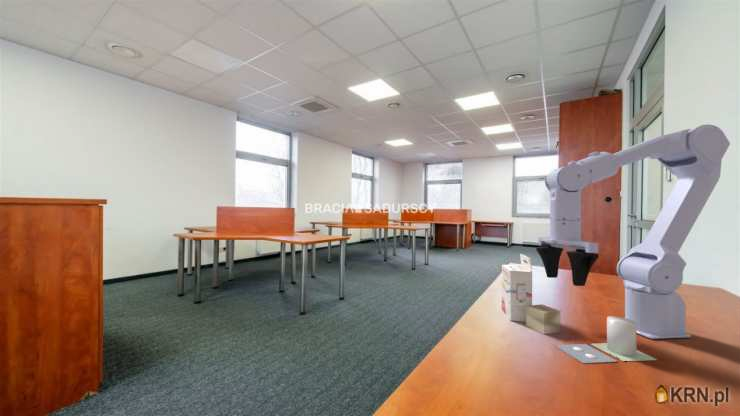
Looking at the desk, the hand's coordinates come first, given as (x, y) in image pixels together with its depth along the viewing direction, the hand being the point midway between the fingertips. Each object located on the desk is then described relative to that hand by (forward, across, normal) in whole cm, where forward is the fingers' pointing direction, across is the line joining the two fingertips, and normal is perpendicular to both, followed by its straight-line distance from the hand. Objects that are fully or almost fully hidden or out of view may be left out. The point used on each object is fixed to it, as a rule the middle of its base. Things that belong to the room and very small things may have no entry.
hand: (564, 281), depth 64 cm
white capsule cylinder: (+10, +12, +1) cm, 15 cm away
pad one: (+10, +12, +1) cm, 16 cm away
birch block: (+10, +1, -6) cm, 12 cm away
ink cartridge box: (+10, -7, -7) cm, 14 cm away
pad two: (+10, +12, -6) cm, 17 cm away
